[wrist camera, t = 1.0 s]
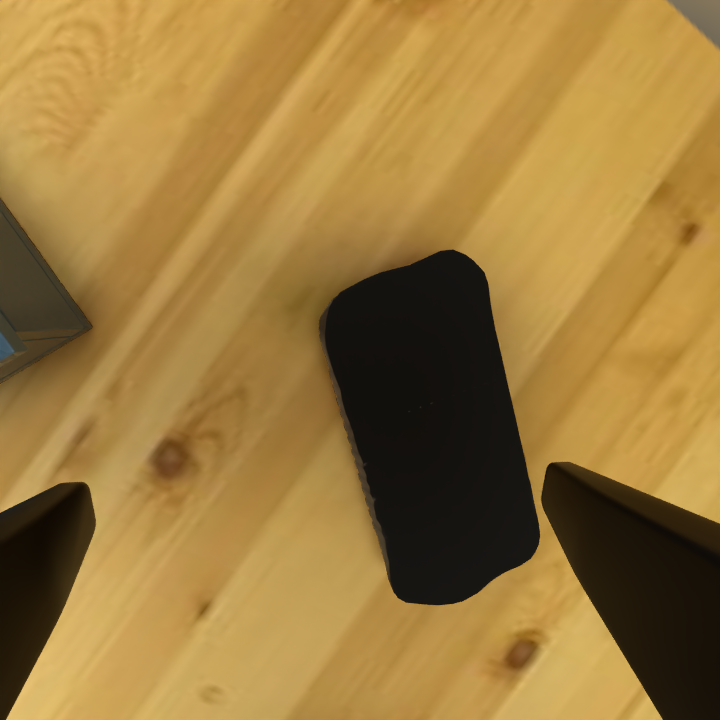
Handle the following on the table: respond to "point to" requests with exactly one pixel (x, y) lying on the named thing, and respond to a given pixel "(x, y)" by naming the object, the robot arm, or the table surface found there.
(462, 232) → the table surface
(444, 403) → the black sponge
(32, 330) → the compartment
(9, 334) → the blue-grey box lid
